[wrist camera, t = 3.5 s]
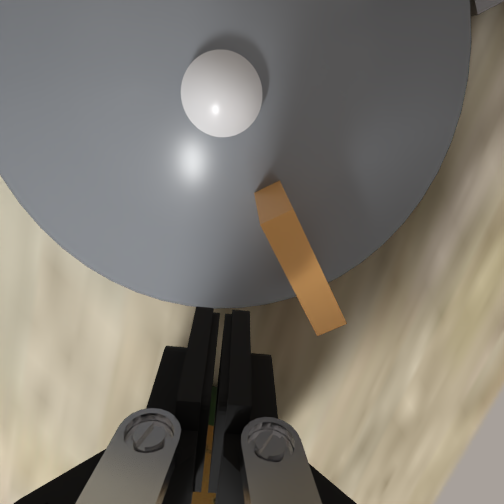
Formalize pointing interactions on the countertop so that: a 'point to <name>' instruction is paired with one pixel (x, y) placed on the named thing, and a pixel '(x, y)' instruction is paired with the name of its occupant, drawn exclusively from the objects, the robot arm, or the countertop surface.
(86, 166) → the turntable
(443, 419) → the countertop surface
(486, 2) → the capsule on square base
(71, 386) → the countertop surface
